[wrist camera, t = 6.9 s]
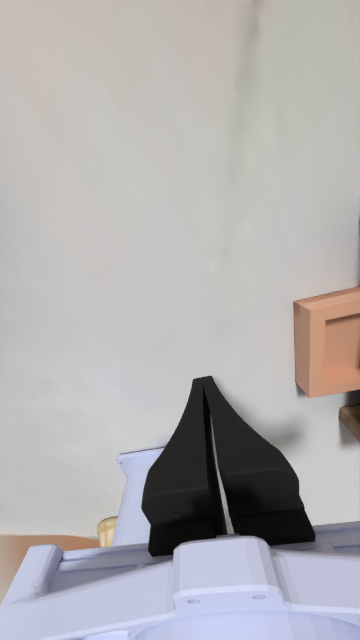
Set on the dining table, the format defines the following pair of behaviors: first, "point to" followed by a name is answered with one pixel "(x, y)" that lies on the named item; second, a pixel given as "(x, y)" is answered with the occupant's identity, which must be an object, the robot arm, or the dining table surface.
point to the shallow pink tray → (328, 343)
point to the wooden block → (351, 419)
